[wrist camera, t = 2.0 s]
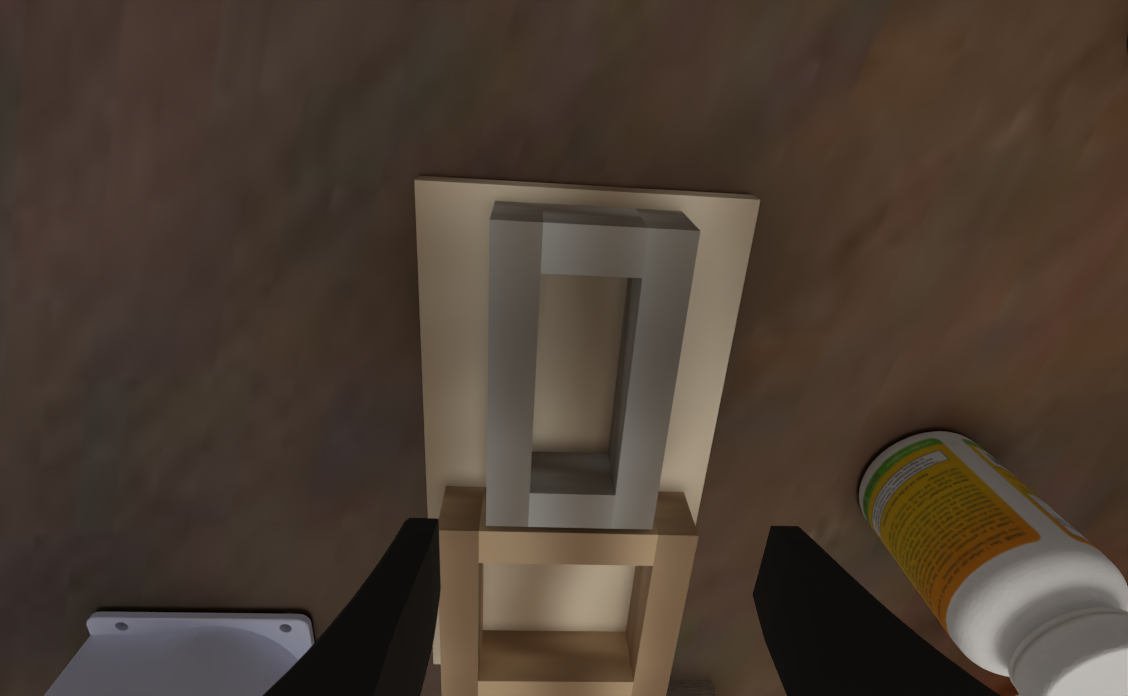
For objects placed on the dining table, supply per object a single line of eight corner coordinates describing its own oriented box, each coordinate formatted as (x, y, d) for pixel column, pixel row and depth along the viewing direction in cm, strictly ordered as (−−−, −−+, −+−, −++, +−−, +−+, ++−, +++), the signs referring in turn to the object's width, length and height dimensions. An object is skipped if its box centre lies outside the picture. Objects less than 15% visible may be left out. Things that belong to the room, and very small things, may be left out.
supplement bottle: (840, 528, 27) (987, 756, 18) (874, 424, 25) (1062, 627, 16) (957, 531, 27) (1157, 756, 18) (1001, 429, 25) (1254, 629, 16)
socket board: (436, 648, 29) (424, 716, 26) (419, 175, 20) (398, 196, 17) (664, 650, 30) (678, 716, 27) (752, 194, 20) (789, 218, 17)
